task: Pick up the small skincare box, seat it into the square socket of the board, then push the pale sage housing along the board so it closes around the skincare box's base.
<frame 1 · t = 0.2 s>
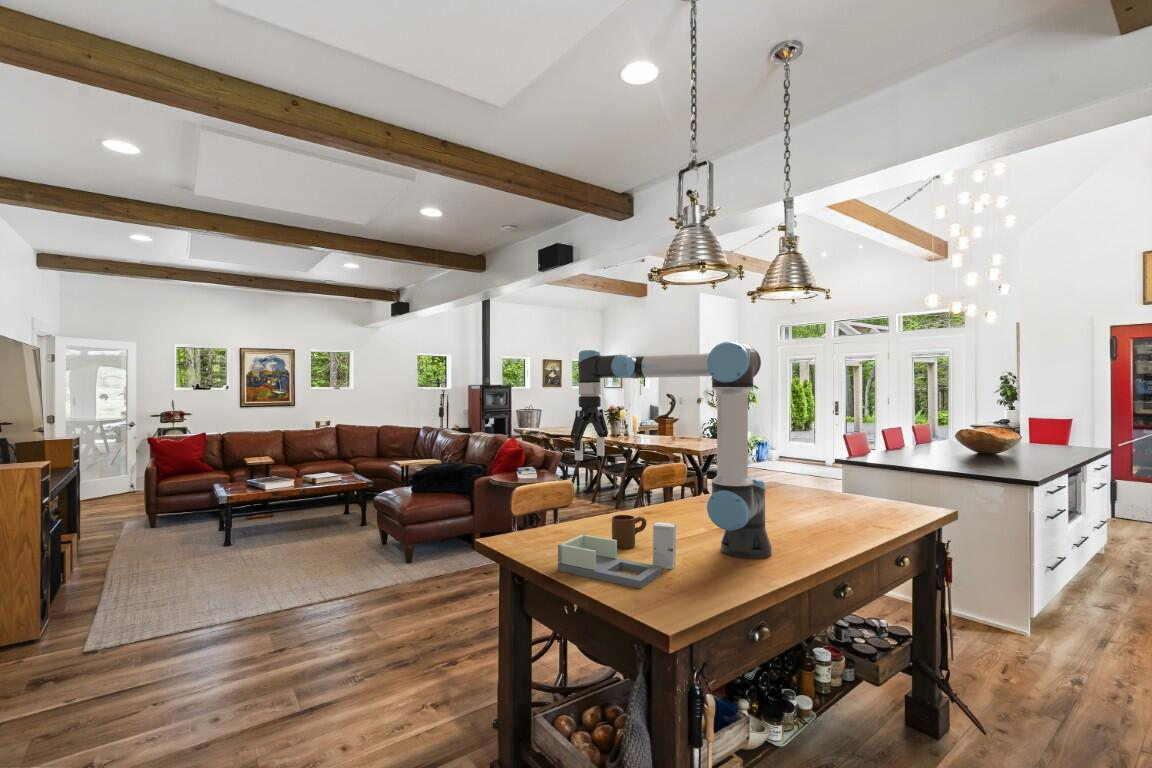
hand: (590, 457, 186), 28 cm above the countertop, fingers open, 13 cm apart
skincare box: (664, 566, 157), on the countertop
housing: (587, 551, 156), point 5 cm above the countertop, slide at 0.0 cm
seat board: (615, 573, 151), on the countertop
mug: (629, 546, 178), on the countertop
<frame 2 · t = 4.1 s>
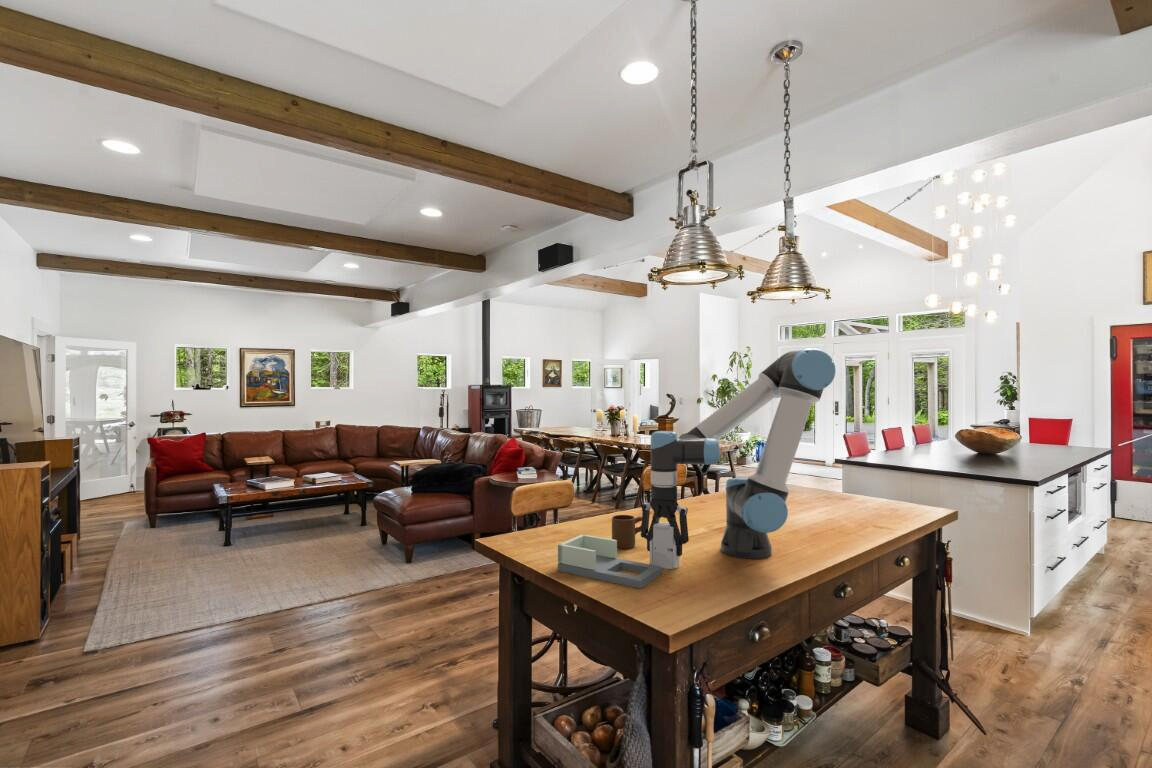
hand: (664, 564, 157), 0 cm above the countertop, fingers closed on skincare box, 7 cm apart
skincare box: (664, 566, 157), on the countertop, touching gripper
everything else where it was.
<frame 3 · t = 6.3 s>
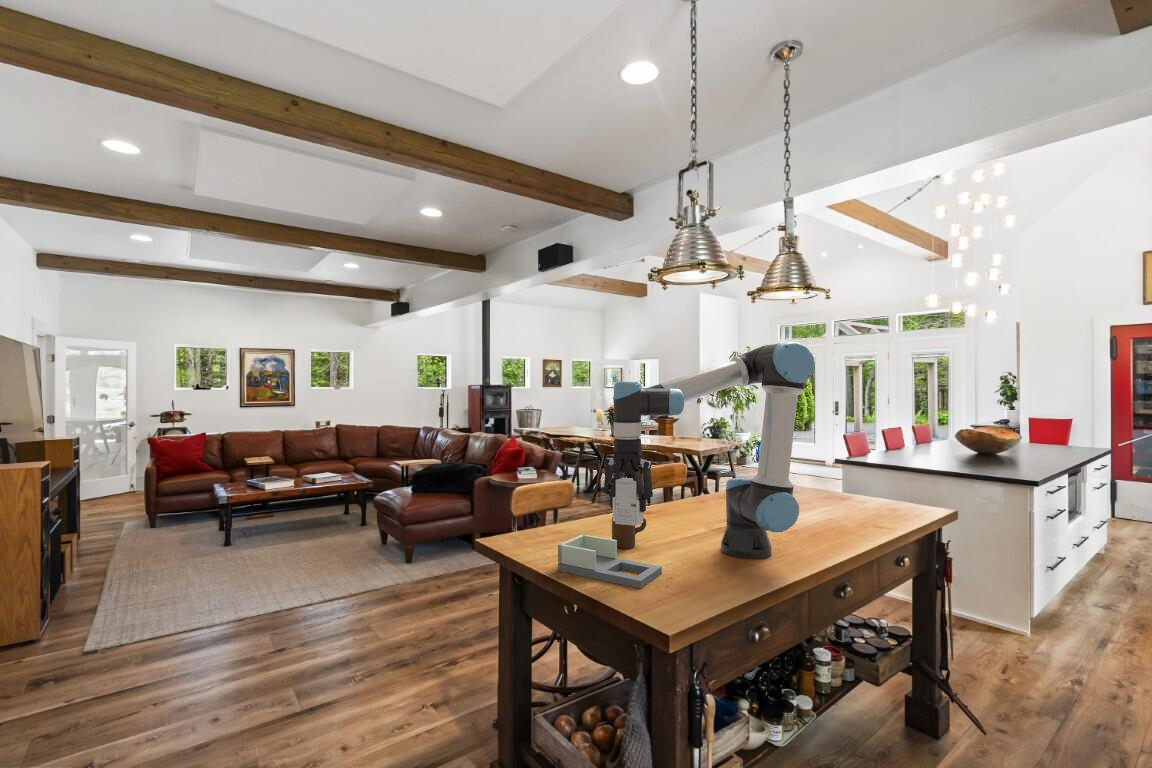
hand: (627, 521, 149), 15 cm above the countertop, fingers closed on skincare box, 6 cm apart
skincare box: (628, 524, 149), point 14 cm above the countertop, touching gripper
everything else where it was.
when the fingers open (2 cm above the countertop, at t = 8.9 s): skincare box drops 2 cm, resting in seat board.
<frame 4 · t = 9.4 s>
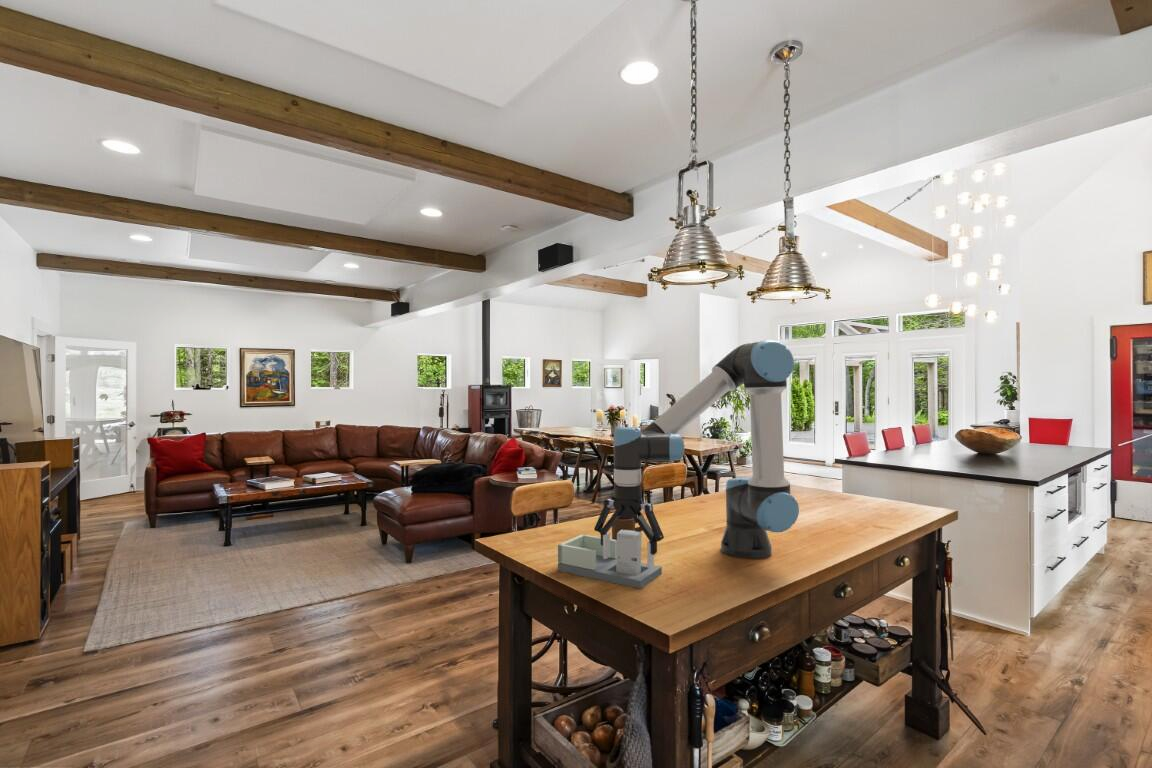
hand: (628, 561, 149), 4 cm above the countertop, fingers open, 13 cm apart
skincare box: (629, 577, 149), resting in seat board
everything else where it was.
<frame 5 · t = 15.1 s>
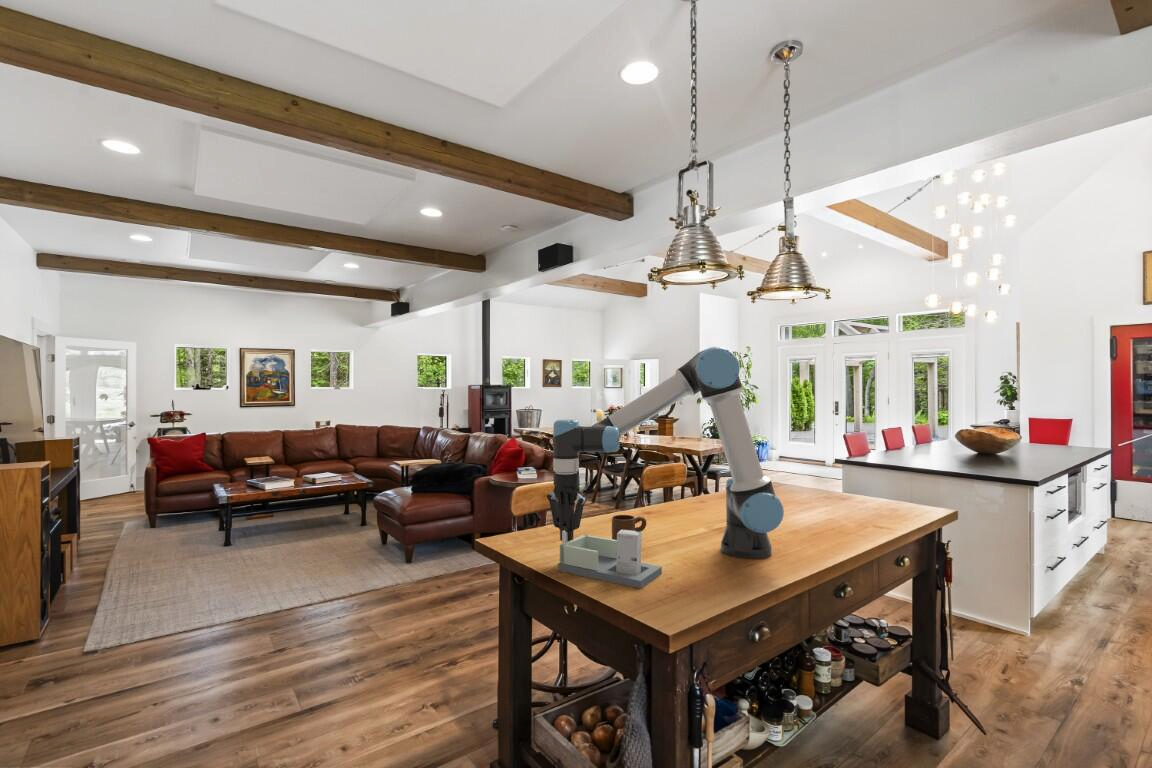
hand: (566, 552, 160), 3 cm above the countertop, fingers closed
housing: (589, 551, 156), point 5 cm above the countertop, slide at 0.7 cm, touching gripper
everything else where it was.
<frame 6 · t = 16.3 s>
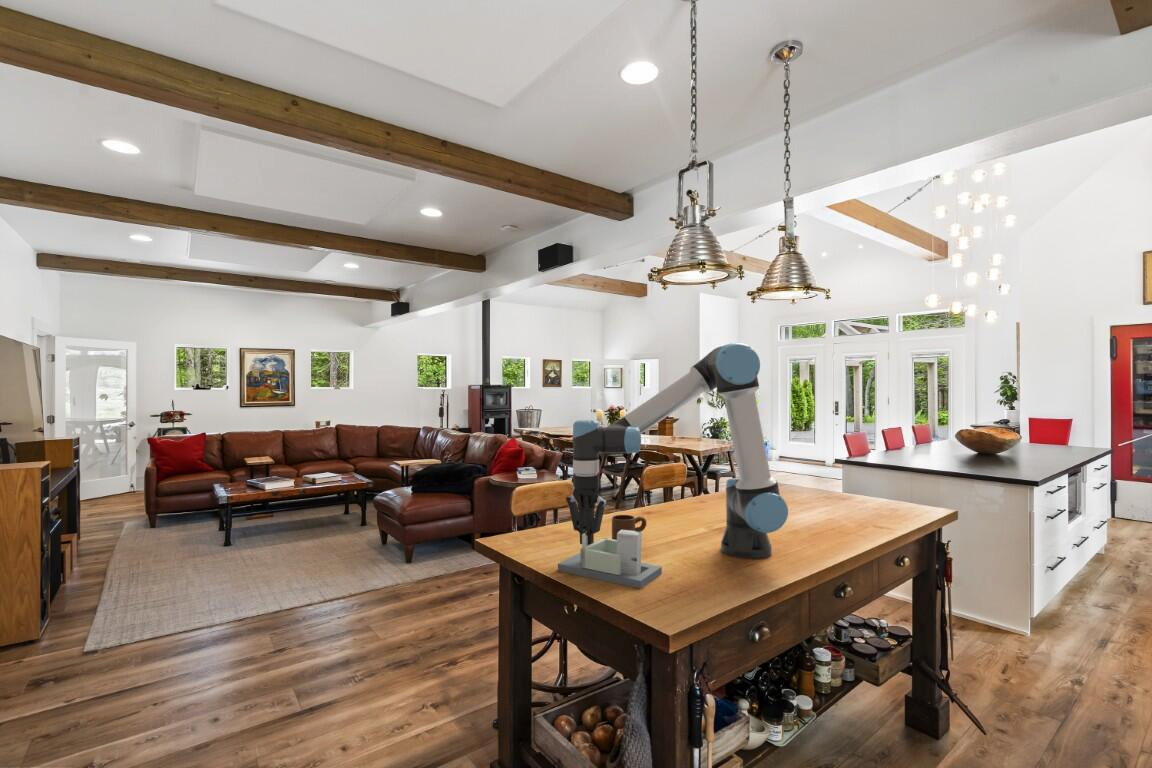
hand: (586, 556, 156), 3 cm above the countertop, fingers closed
housing: (610, 555, 152), point 5 cm above the countertop, slide at 7.6 cm, touching gripper
everything else where it was.
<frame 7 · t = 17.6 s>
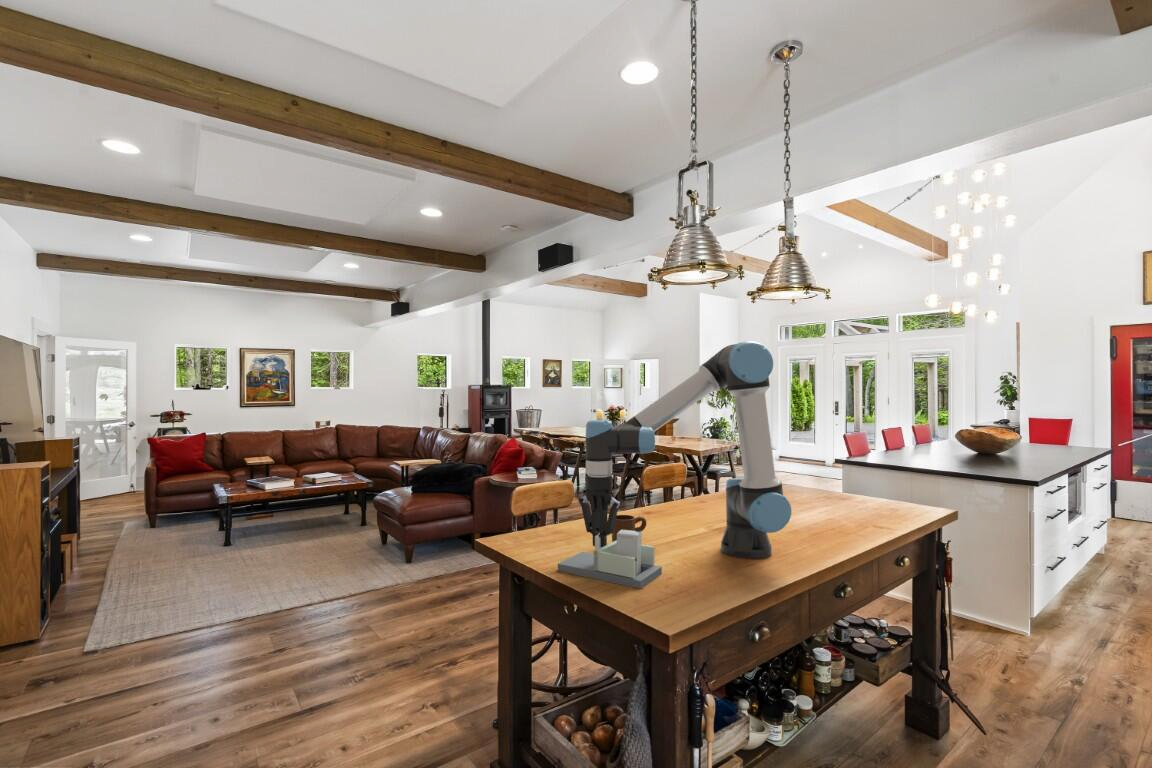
hand: (599, 558, 154), 3 cm above the countertop, fingers closed
housing: (624, 558, 150), point 5 cm above the countertop, slide at 11.9 cm, touching gripper
everything else where it was.
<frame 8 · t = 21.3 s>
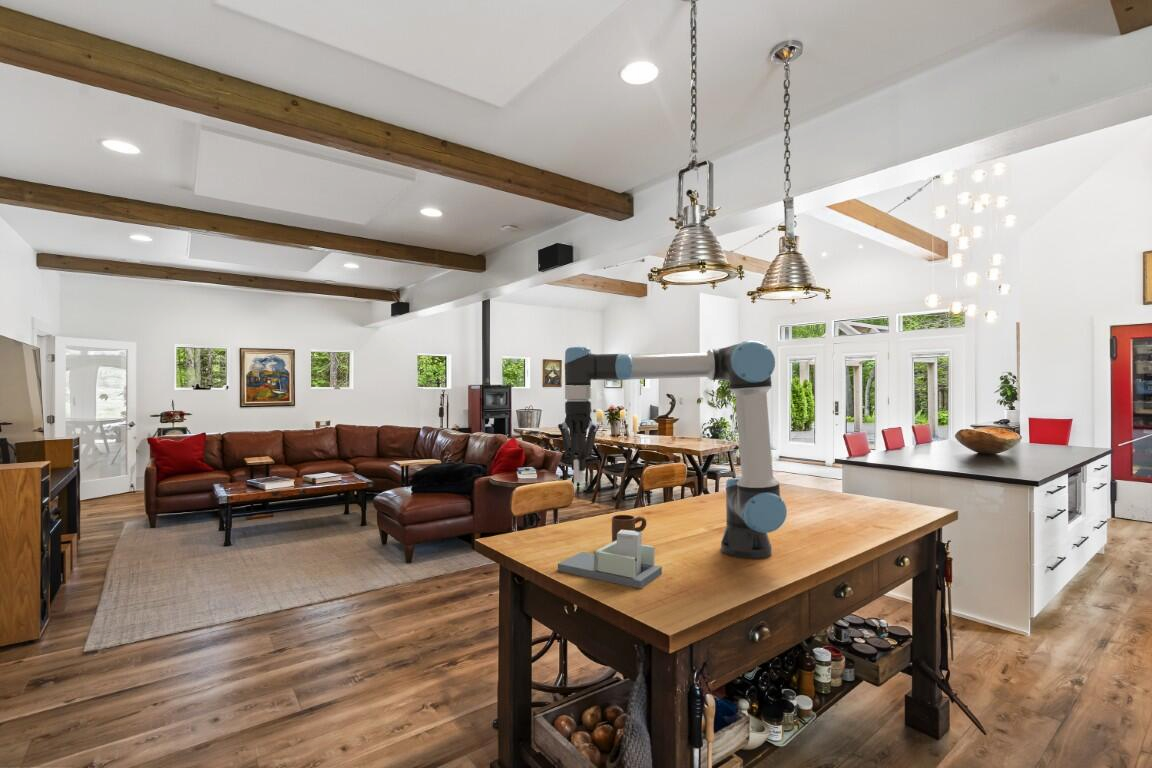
hand: (578, 481, 158), 24 cm above the countertop, fingers closed
housing: (624, 558, 150), point 5 cm above the countertop, slide at 11.9 cm
everything else where it was.
at the end: skincare box 0.2 cm from the target spot, resting in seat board; skincare box tilted 0°; housing slide at 11.9 cm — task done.
